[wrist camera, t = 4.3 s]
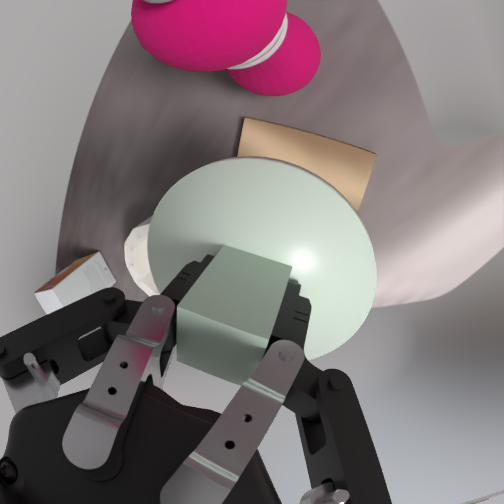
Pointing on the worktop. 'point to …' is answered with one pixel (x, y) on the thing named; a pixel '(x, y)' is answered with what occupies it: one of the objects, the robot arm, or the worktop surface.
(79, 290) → the small box
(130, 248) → the bowl
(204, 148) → the worktop surface
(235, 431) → the robot arm
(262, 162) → the lid
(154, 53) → the pepper mill
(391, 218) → the worktop surface
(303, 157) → the plate
